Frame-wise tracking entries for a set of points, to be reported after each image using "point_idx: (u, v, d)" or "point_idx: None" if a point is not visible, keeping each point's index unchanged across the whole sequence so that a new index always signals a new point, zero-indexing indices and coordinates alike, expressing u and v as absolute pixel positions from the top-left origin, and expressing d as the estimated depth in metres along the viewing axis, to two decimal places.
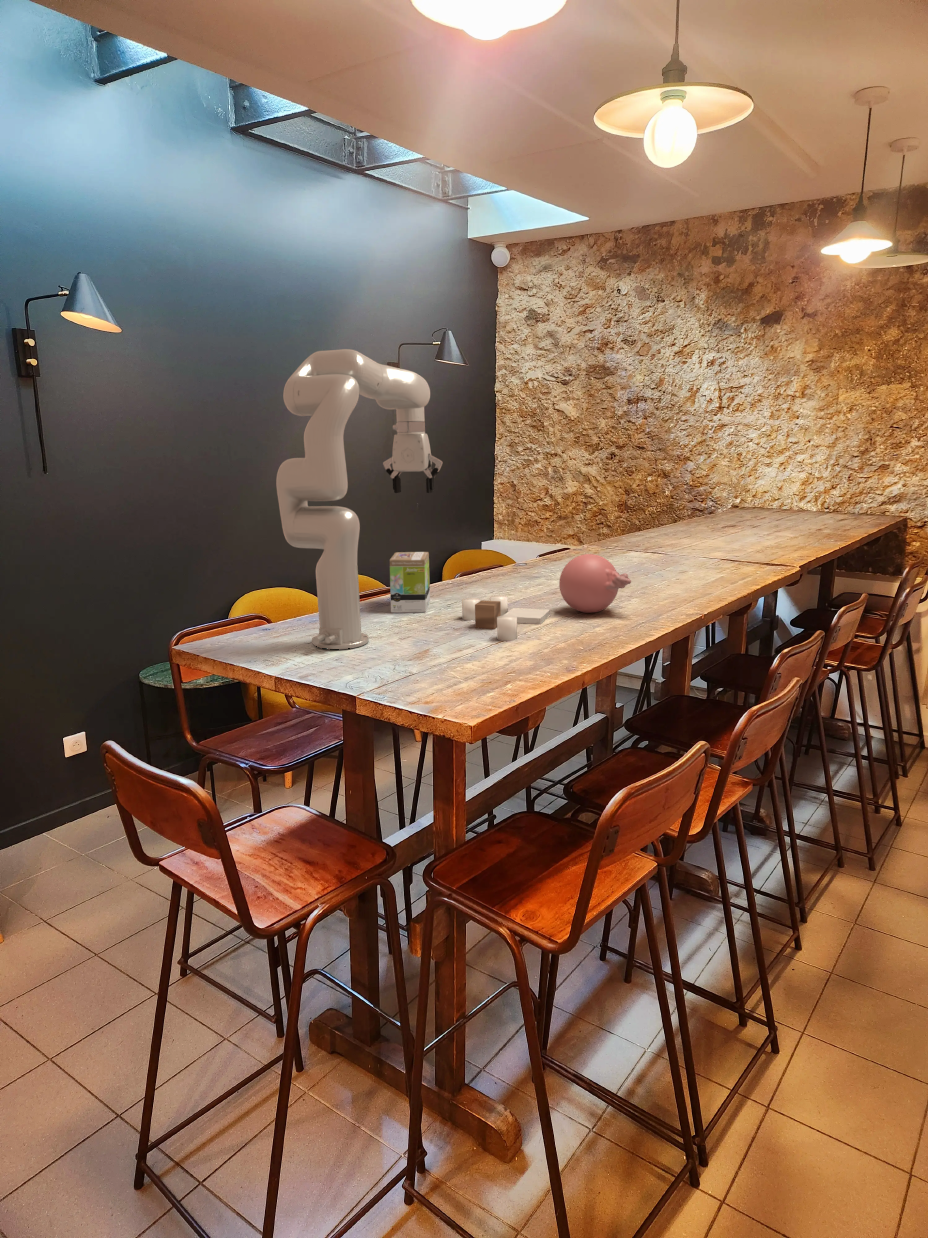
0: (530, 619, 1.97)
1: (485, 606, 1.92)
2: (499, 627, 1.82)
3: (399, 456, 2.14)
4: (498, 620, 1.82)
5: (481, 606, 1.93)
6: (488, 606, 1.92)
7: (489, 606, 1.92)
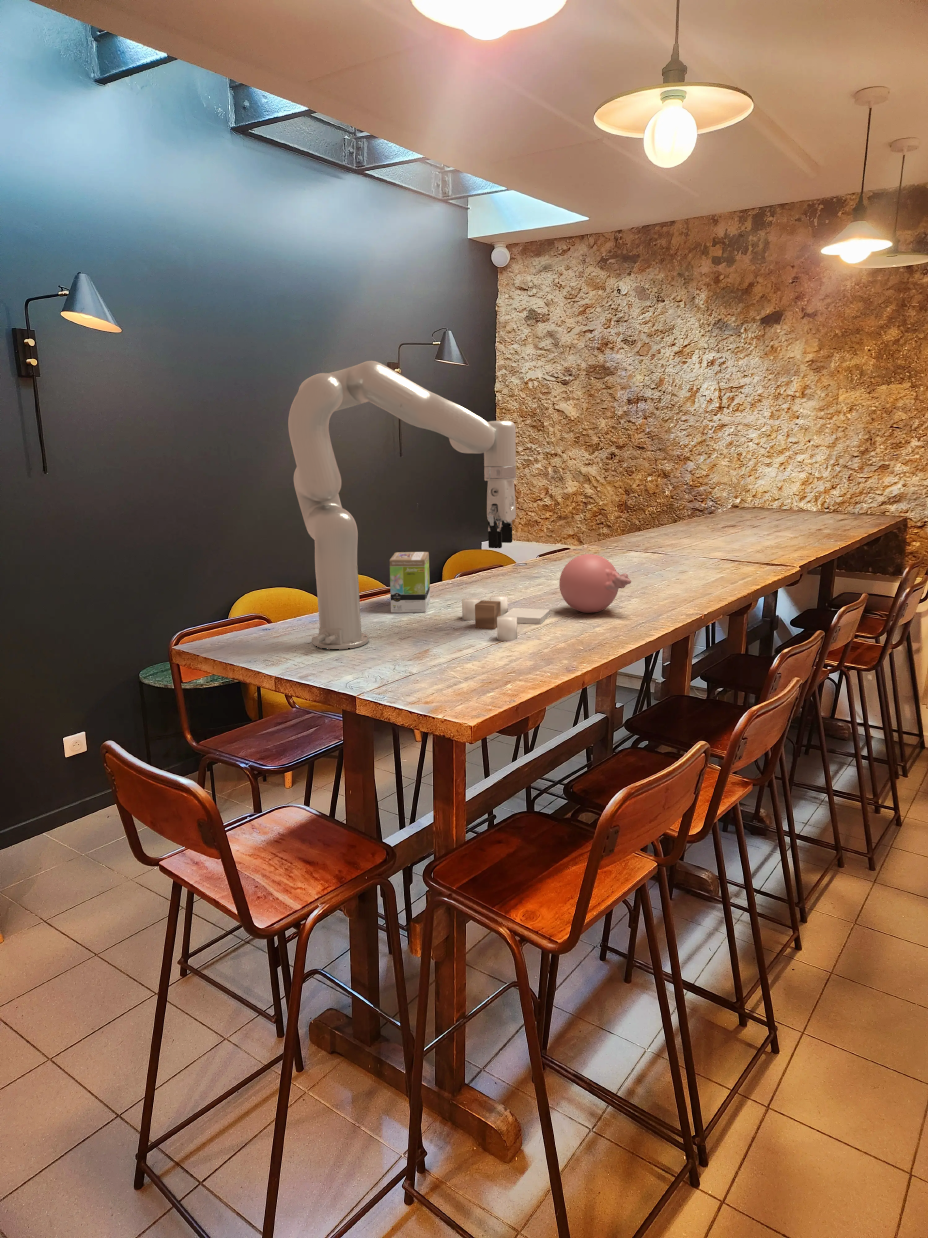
0: (530, 619, 1.97)
1: (485, 606, 1.92)
2: (499, 627, 1.82)
3: (508, 505, 1.87)
4: (498, 620, 1.82)
5: (481, 606, 1.93)
6: (488, 606, 1.92)
7: (489, 606, 1.92)
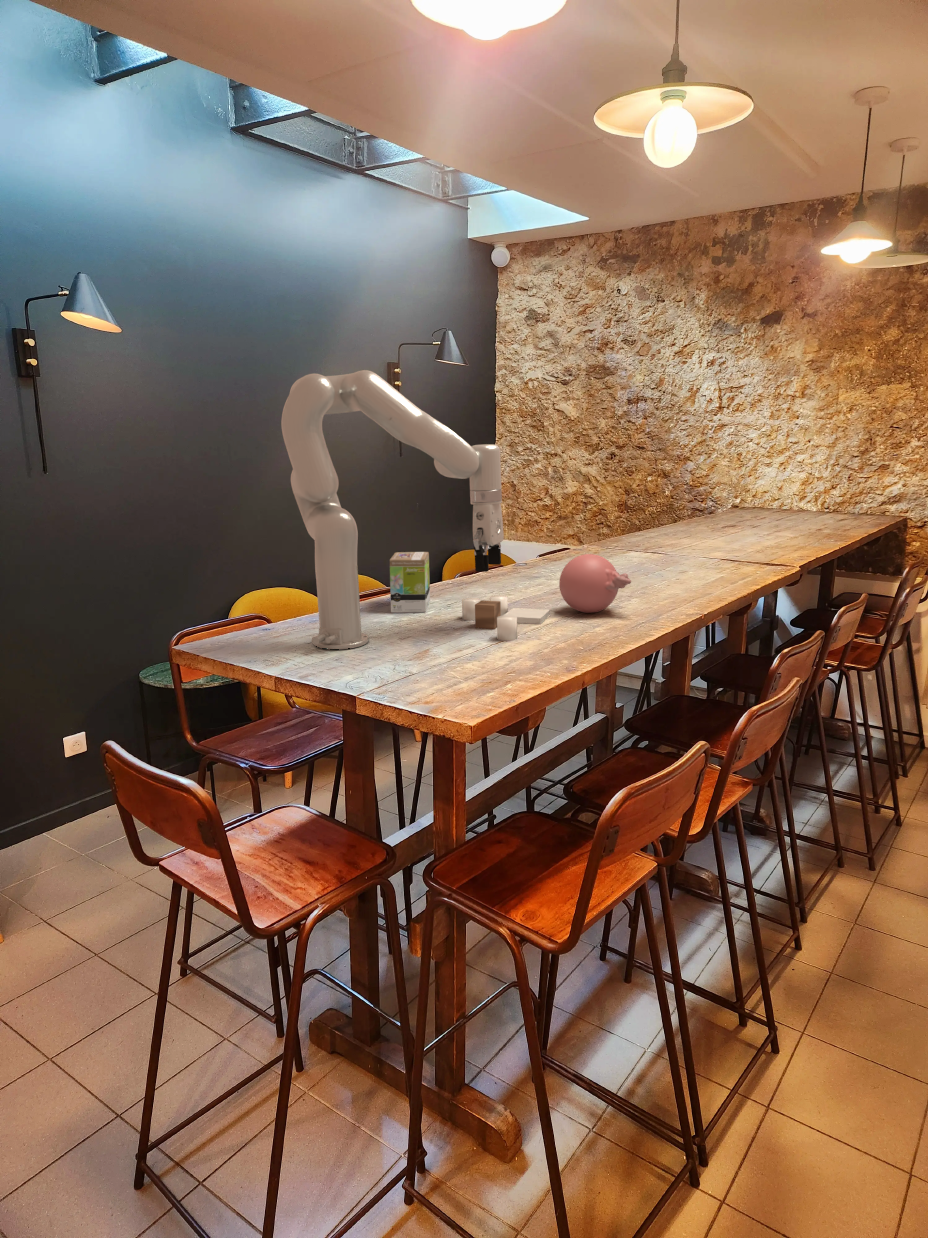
0: (530, 619, 1.97)
1: (485, 606, 1.92)
2: (499, 627, 1.82)
3: (494, 528, 1.87)
4: (498, 620, 1.82)
5: (481, 606, 1.93)
6: (488, 606, 1.92)
7: (489, 606, 1.92)
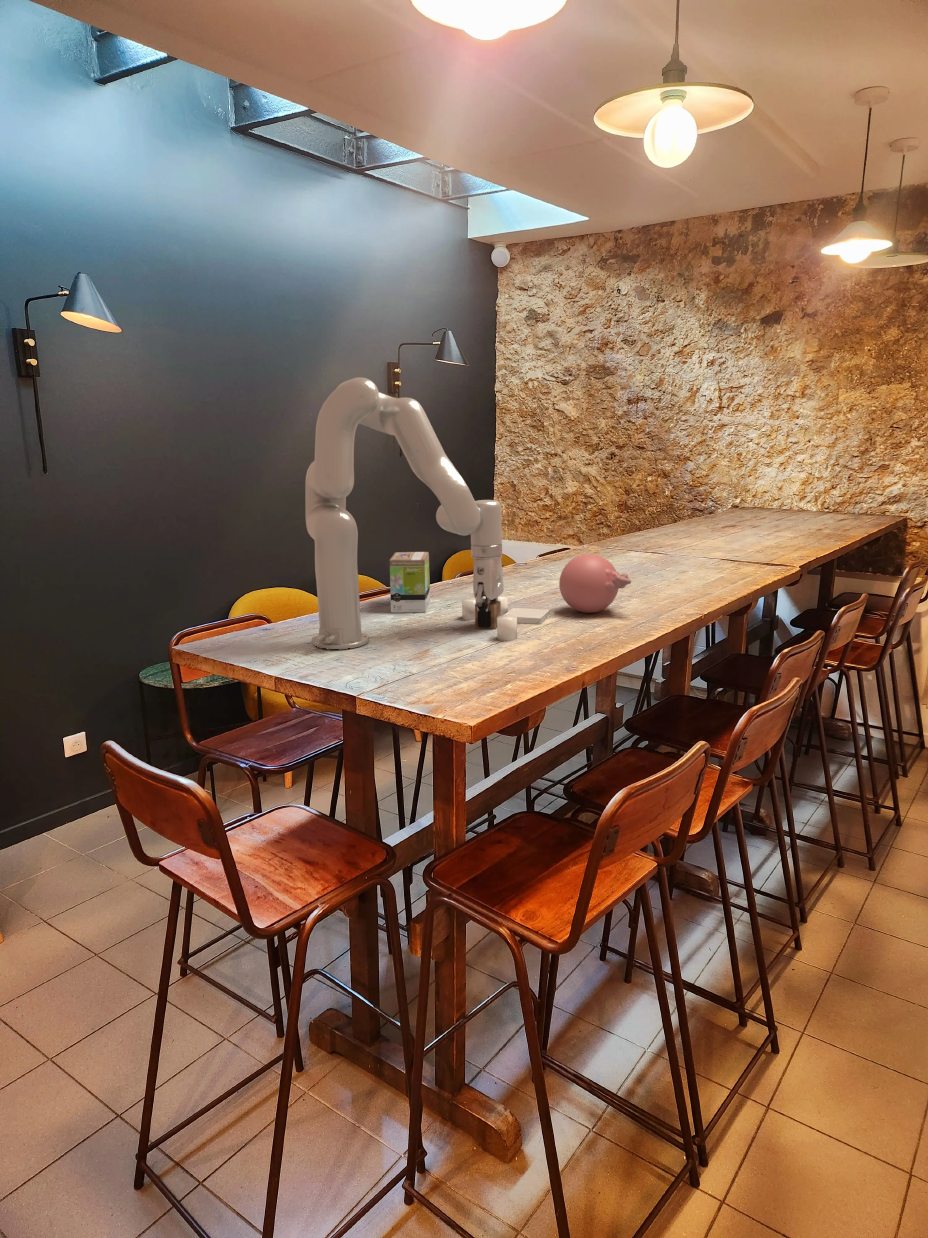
0: (530, 619, 1.97)
1: None
2: (499, 627, 1.82)
3: (494, 583, 1.90)
4: (498, 620, 1.82)
5: None
6: None
7: None
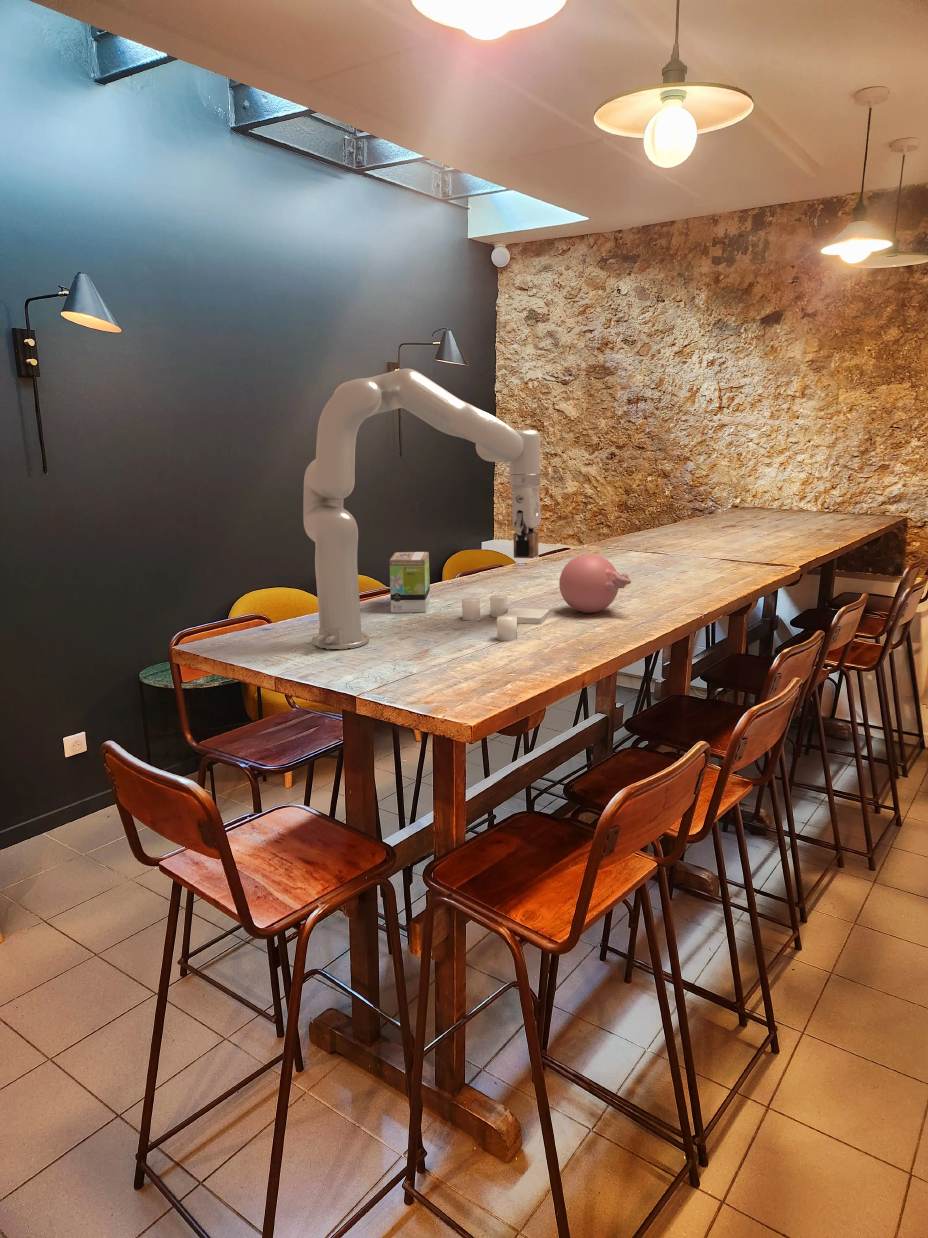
0: (530, 619, 1.97)
1: None
2: (499, 627, 1.82)
3: (533, 511, 1.93)
4: (498, 620, 1.82)
5: None
6: None
7: (528, 535, 1.95)
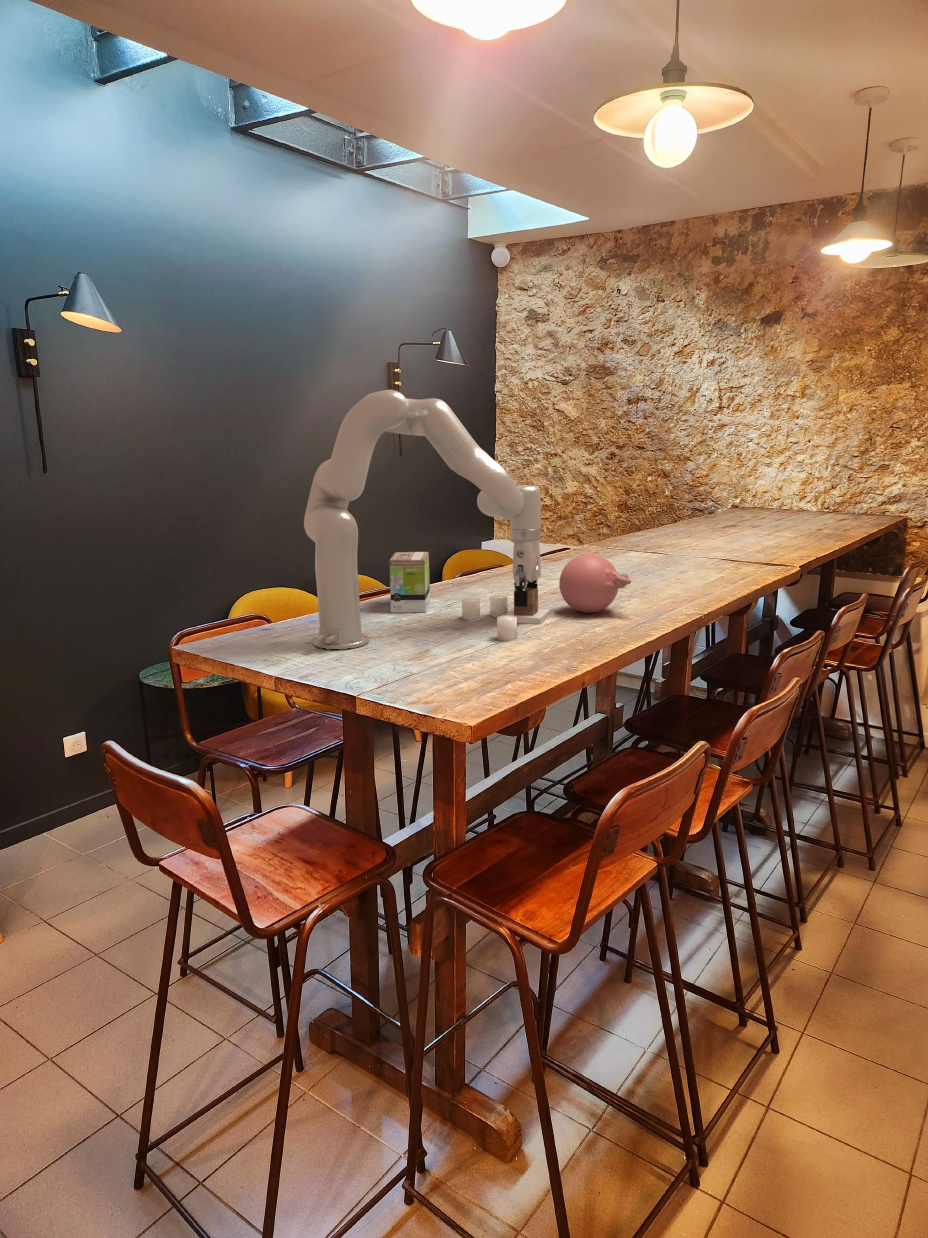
0: (530, 619, 1.97)
1: None
2: (499, 627, 1.82)
3: (533, 565, 1.96)
4: (498, 620, 1.82)
5: None
6: (527, 593, 1.98)
7: (528, 593, 1.98)
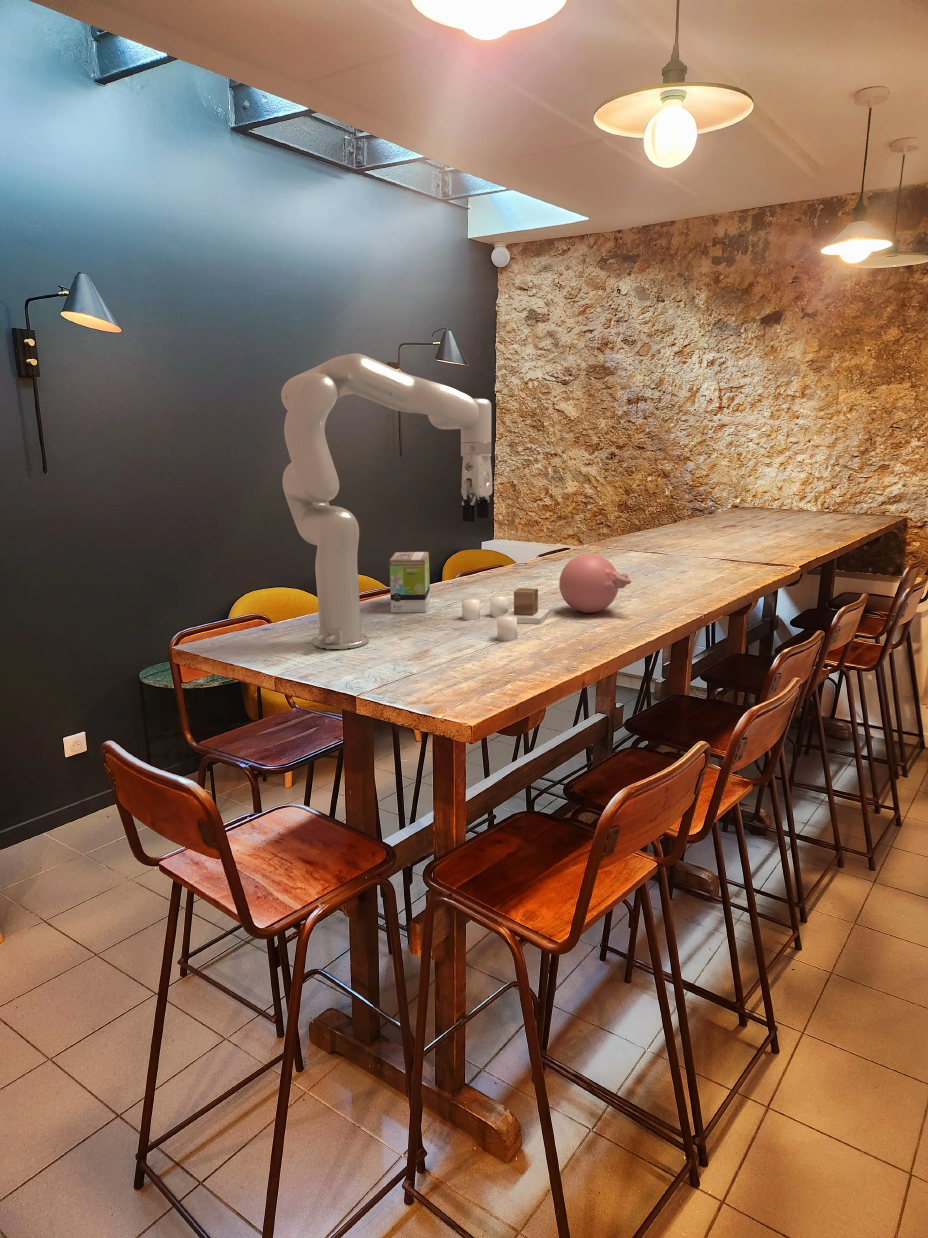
0: (530, 619, 1.97)
1: (524, 593, 1.99)
2: (499, 627, 1.82)
3: (483, 480, 1.94)
4: (498, 620, 1.82)
5: (520, 593, 1.99)
6: (527, 593, 1.98)
7: (528, 593, 1.98)
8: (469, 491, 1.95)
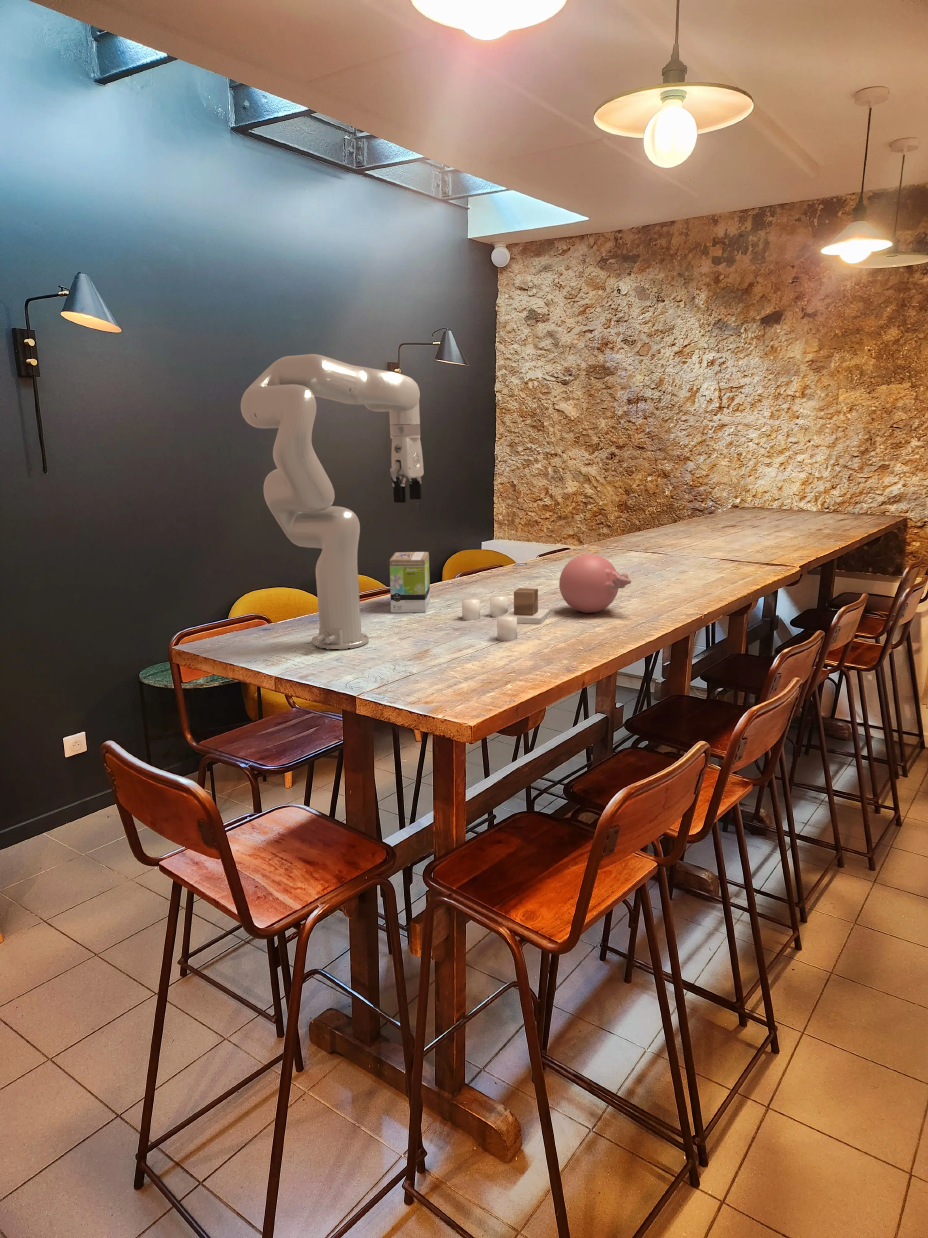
0: (530, 619, 1.97)
1: (524, 593, 1.99)
2: (499, 627, 1.82)
3: (412, 461, 1.97)
4: (498, 620, 1.82)
5: (520, 593, 1.99)
6: (527, 593, 1.98)
7: (528, 593, 1.98)
8: (399, 473, 1.98)
